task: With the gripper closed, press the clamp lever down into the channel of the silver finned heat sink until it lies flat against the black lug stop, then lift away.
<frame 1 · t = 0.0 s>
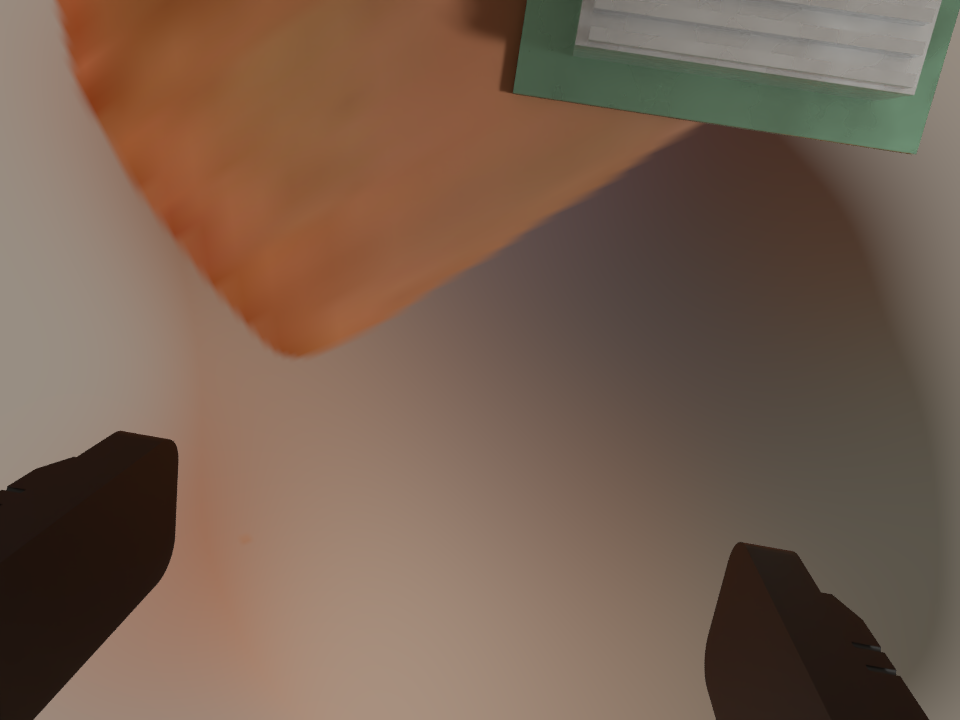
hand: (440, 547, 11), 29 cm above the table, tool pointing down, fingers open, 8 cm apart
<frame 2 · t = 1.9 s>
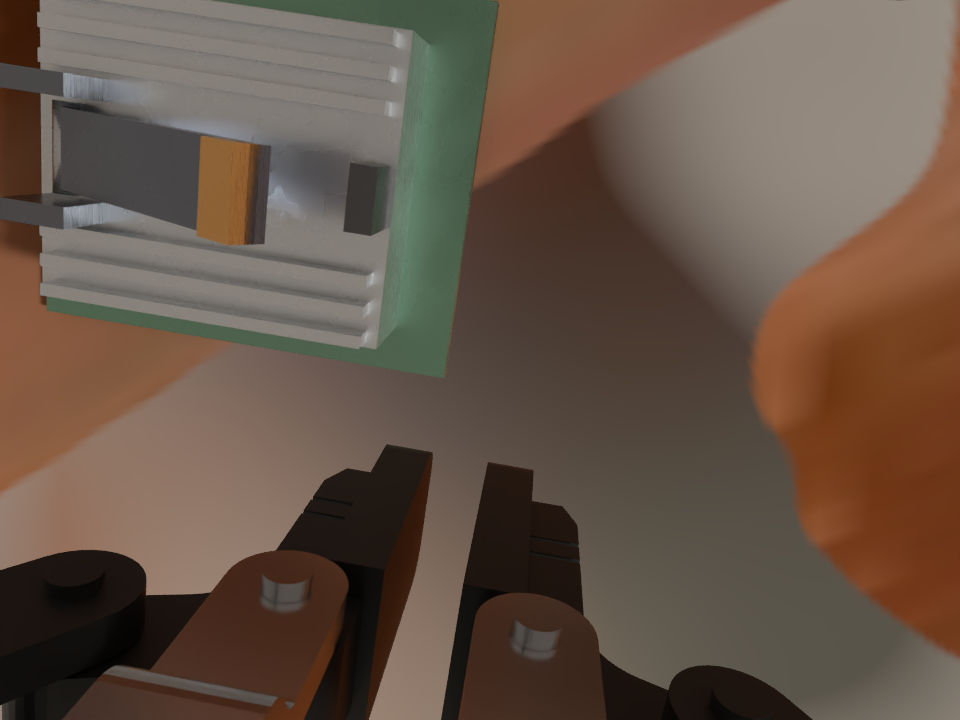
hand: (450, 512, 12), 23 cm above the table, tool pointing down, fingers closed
clamp lever: (140, 167, 26), point 8 cm above the table, hinge at -30.0°
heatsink: (259, 167, 34), on the table
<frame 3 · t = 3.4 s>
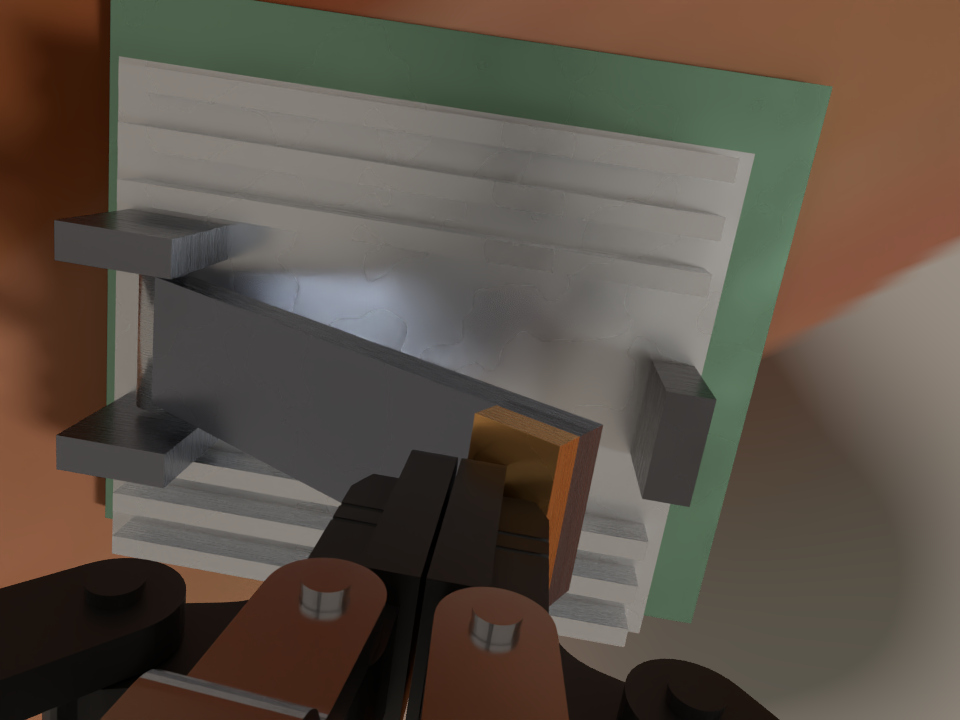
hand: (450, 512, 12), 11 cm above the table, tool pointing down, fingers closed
clamp lever: (309, 408, 15), point 8 cm above the table, hinge at -30.0°, touching gripper
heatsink: (428, 323, 23), on the table
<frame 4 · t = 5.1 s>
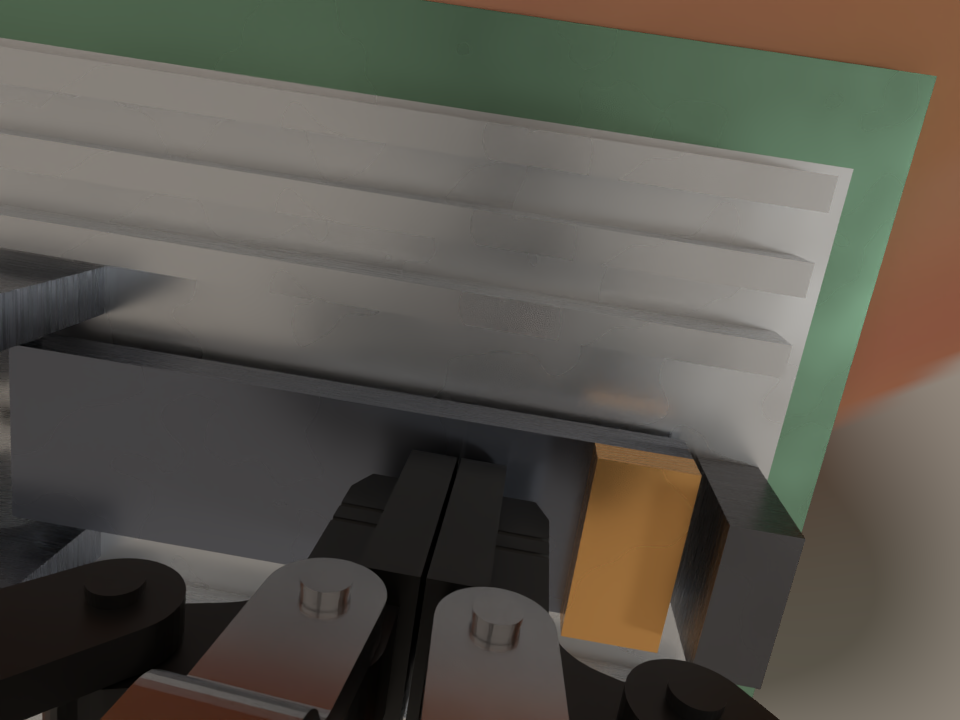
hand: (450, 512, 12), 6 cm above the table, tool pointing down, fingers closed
clamp lever: (314, 481, 12), point 5 cm above the table, hinge at 0.7°
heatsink: (396, 383, 17), on the table
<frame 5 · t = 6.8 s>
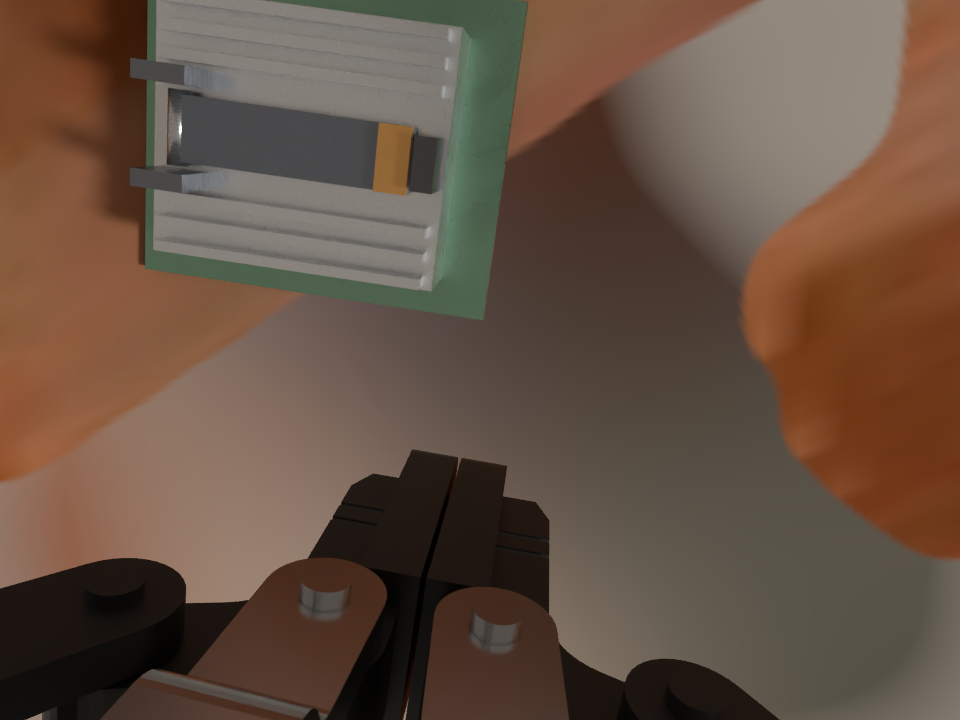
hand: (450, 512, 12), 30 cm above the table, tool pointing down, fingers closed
clamp lever: (287, 143, 35), point 5 cm above the table, hinge at 0.7°
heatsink: (326, 144, 40), on the table
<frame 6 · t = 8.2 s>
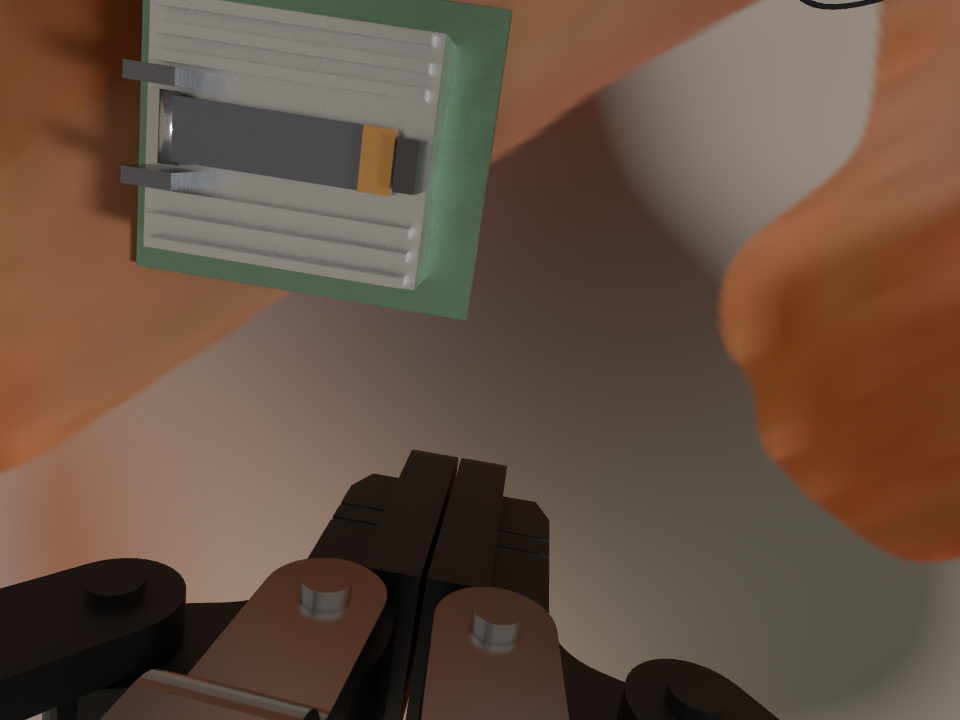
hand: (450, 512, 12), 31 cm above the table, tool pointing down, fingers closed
clamp lever: (275, 144, 36), point 5 cm above the table, hinge at 0.7°
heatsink: (315, 146, 41), on the table
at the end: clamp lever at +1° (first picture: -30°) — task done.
